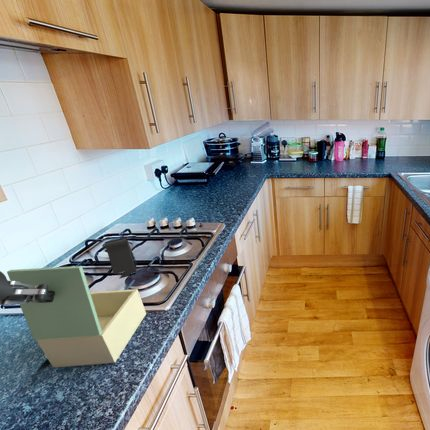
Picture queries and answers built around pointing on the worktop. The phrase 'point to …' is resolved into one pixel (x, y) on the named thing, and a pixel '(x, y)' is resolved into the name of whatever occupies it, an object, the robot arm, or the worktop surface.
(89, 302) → the lid
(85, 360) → the box
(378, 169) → the worktop surface
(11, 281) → the robot arm
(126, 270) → the phone stand
